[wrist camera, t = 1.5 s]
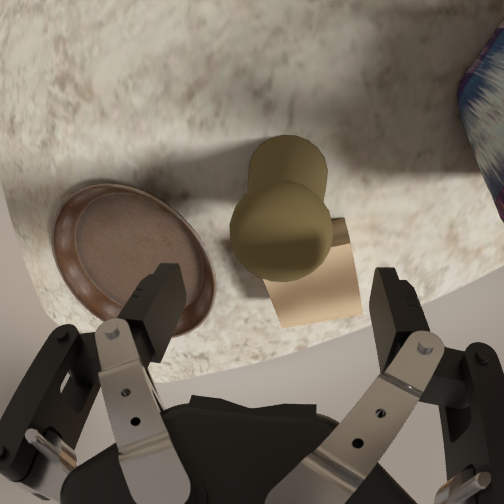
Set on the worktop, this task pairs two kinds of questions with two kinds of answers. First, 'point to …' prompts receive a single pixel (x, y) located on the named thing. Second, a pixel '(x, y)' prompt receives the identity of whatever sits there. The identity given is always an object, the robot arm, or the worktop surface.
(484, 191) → the worktop surface
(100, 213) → the plant saucer
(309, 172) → the olive green pawn
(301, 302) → the oak base block
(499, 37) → the handbag
